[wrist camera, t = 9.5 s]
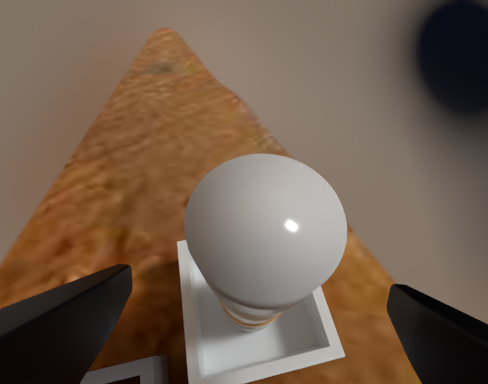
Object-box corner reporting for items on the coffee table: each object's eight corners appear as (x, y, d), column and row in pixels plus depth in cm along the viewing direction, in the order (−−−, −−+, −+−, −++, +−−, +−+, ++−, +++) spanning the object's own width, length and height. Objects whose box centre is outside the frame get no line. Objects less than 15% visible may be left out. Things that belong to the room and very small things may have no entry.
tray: (326, 354, 16) (345, 356, 13) (199, 387, 15) (189, 397, 12) (288, 236, 21) (296, 218, 18) (187, 257, 20) (177, 241, 17)
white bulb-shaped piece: (277, 335, 16) (356, 314, 5) (218, 327, 16) (165, 290, 5) (280, 274, 18) (339, 160, 7) (227, 268, 18) (202, 147, 7)
